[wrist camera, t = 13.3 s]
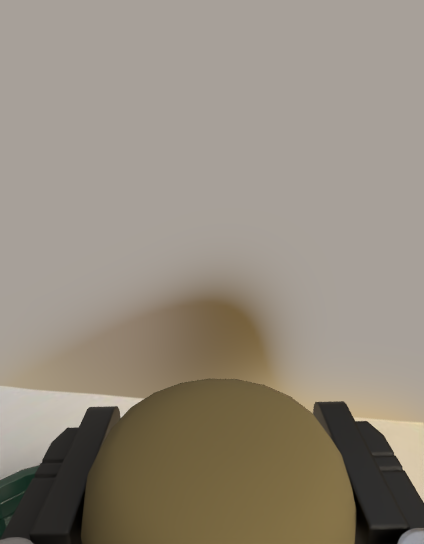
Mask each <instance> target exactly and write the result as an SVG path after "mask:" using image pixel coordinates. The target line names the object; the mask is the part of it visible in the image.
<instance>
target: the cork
mask: <svg viewBox="0 0 424 544" xmlns="http://www.w3.org/2000/svg"><path fill="white" fill-rule="evenodd" d="M356 514H357V511H356V506H355V501H354V496H353V491H352V487H351V484H350V480H349V477H348V474H347V471H346V468H345V464H344V461H343V458H342V455H341V453H340V452H339V450H338V449H337V447H336V445H335V444H334V442H333V441H332V439H331V438H330V436H329V435H328V434H327V432H326V431H325V430H324V428H323V427H322V426H321V424H320V423H319V421H318V420H317V419H316V417H315V416H314V415H313V413H311V412H310V411H309V410H307V409H306V408H305V407H303V406H302V405H301V404H299V403H298V402H297V401H295V400H294V399H293V398H292V397H290V396H288V395H286V394H283V393H281V392H279V391H276V390H274V389H272V388H270V387H267V386H265V385H260V384H256V383H252V382H247V381H242V380H237V379H204V380H197V381H191V382H185V383H180V384H177V385H174V386H172V387H169V388H166V389H164V390H161V391H158V392H156V393H153V394H152V395H150V396H149V397H147V398H145V399H144V400H142V401H141V402H139V403H138V404H136V405H134V406H133V407H131V408H130V409H129V410H128V411H127V412H126V414H125V415H124V416H123V417H122V418H121V419H120V420H119V421H118V422H117V423H116V424H115V425H114V426H113V427H112V429H111V430H110V432H109V434H108V435H107V437H106V439H105V441H104V442H103V444H102V446H101V448H100V450H99V452H98V454H97V456H96V458H95V461H94V463H93V465H92V467H91V469H90V471H89V473H88V476H87V483H86V490H85V497H84V507H83V518H82V529H81V540H82V544H355V529H356Z"/></svg>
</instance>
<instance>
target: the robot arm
mask: <svg viewBox="0 0 424 544" xmlns="http://www.w3.org/2000/svg"><path fill="white" fill-rule="evenodd" d="M313 415H314V416H315V417H316V419H317V420H318V421H319V423H320V424H321V426H322V427H323V428H324V430H325V431H326V432H327V434H328V435H329V436H330V438H331V439H332V441H333V442H334V444H335V445H336V447H337V449H338V450H339V452H340V453H341V455H342V458H343V461H344V464H345V468H346V471H347V474H348V477H349V480H350V484H351V487H352V491H353V496H354V501H355V506H356V511H357V514H356V529H355V544H424V503H423V501H422V499H421V498H420V496H419V494H418V492H417V491H416V489H415V487H414V486H413V484H412V482H411V481H410V479H409V477H408V476H407V474H406V472H405V471H403V469H402V466H401V464H400V462H399V461H398V459H397V457H396V456H394V452H393V450H392V449H391V447H390V445H389V444H388V442H387V440H386V439H385V437H384V435H383V434H381V433H380V432H379V431H378V430H377V429H376V428H374V427H373V426H372V425H371V424H370V423H369V422H367V421H355V420H354V418H353V416H352V415H351V412H350V411H349V409H348V407H347V405H346V404H345V403H344V402H343V401H341V402H315V404H314V409H313ZM119 420H120V411H119V408H118V407H117V406H115V407H89V408H88V409H87V411H86V413H85V416H84V418H83V420H82V422H81V424H80V426H79V428H67V429H66V430H65V431H64V432H62V433H61V434H60V435H59V436H58V437H57V438H56V439H55V440H54V441H53V442H52V443H51V445H50V447H49V449H48V450H47V452H46V454H45V456H44V458H43V460H42V463H41V464H40V465H39V467H38V469H37V471H36V473H35V477H34V478H32V480H31V482H30V484H29V486H28V488H27V490H26V492H25V493H24V495H23V497H22V499H21V501H20V503H19V505H18V507H17V508H16V510H15V512H14V514H13V516H12V518H11V520H10V522H9V523H8V525H7V527H6V529H5V531H4V533H3V535H2V536H1V538H0V544H82V540H81V529H82V518H83V507H84V497H85V490H86V483H87V476H88V473H89V471H90V469H91V467H92V465H93V463H94V461H95V458H96V456H97V454H98V452H99V450H100V448H101V446H102V444H103V442H104V441H105V439H106V437H107V435H108V434H109V432H110V430H111V429H112V427H113V426H114V425H115V424H116V423H117V422H118V421H119Z"/></svg>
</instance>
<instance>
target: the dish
mask: <svg viewBox="0 0 424 544" xmlns="http://www.w3.org/2000/svg"><path fill="white" fill-rule="evenodd" d="M38 467H39V466H35V467H31V468H27V469H24V470H21V471H19V472H17V473H15V474H13V475H11V476H8V477H6V478H4V479H2V480H0V538H1V536H2V535H3V533H4V531H5V529H6V527H7V525H8V523H9V522H10V520H11V518H12V516H13V514H14V512H15V510H16V508H17V507H18V505H19V503H20V501H21V499H22V497H23V495H24V493H25V492H26V490H27V488H28V486H29V484H30V482H31V480H32V478H34V477H35V473H36V471H37V469H38Z"/></svg>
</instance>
